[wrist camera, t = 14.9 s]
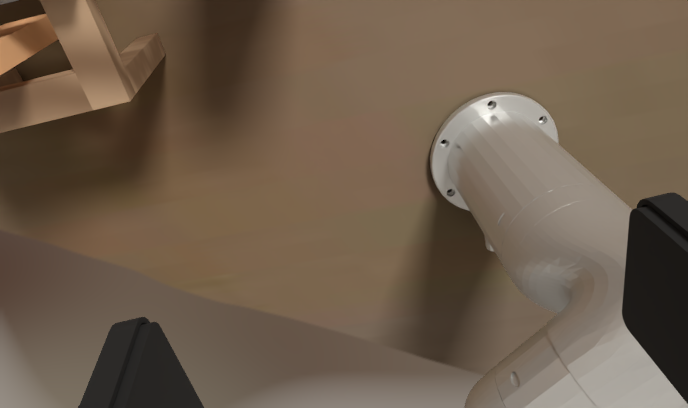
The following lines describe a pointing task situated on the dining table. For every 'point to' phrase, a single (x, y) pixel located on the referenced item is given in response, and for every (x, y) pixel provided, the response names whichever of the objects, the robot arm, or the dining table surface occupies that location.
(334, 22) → the dining table surface
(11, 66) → the orange cream legged block
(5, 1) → the long charcoal crossbeam
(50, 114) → the shelf
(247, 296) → the dining table surface
